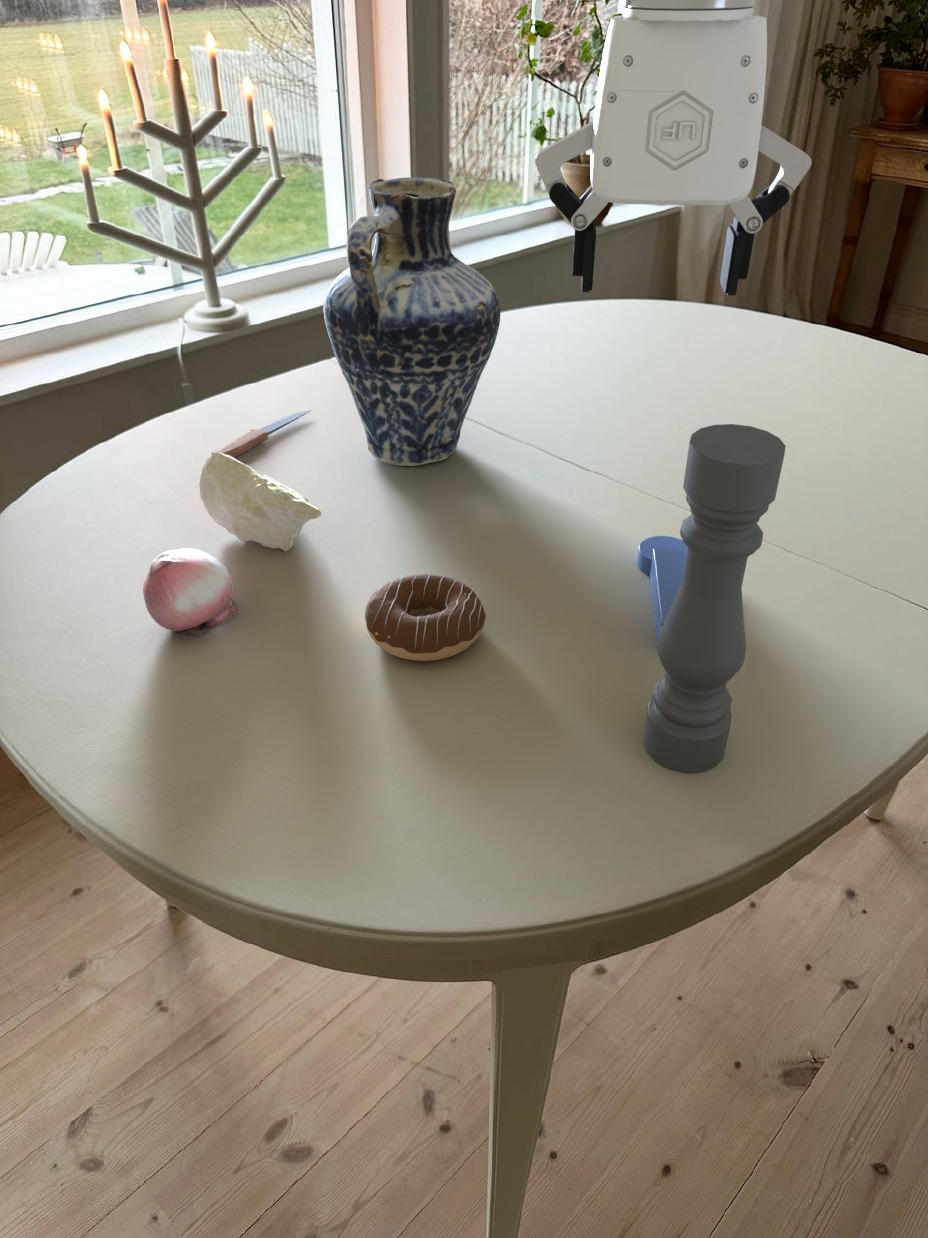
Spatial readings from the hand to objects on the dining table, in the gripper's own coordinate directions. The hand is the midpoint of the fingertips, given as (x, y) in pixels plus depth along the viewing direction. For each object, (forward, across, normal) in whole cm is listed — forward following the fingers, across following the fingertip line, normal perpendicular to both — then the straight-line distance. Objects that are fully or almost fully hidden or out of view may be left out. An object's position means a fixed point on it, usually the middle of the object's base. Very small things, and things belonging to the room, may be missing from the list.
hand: (656, 288), depth 64 cm
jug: (+31, -23, +35) cm, 52 cm away
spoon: (+30, +5, +6) cm, 31 cm away
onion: (+31, -38, -1) cm, 49 cm away
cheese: (+31, -34, +14) cm, 48 cm away
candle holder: (+31, +5, -13) cm, 34 cm away
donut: (+31, -17, -1) cm, 35 cm away
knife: (+30, -43, +38) cm, 65 cm away
